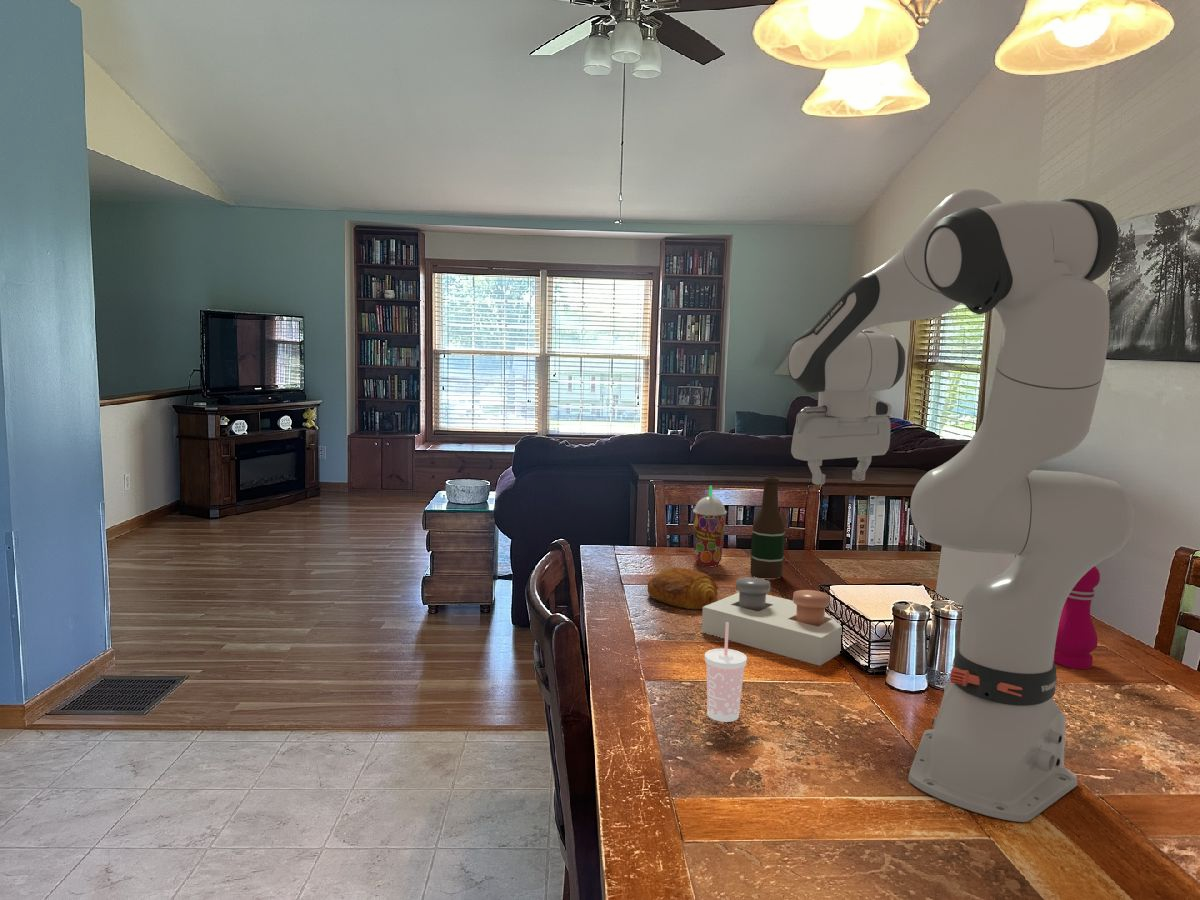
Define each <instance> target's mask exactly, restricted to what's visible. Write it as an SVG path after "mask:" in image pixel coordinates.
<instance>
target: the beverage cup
mask: <svg viewBox="0 0 1200 900" xmlns="http://www.w3.org/2000/svg"><path fill="white" fill-rule="evenodd" d="M728 632H729V622H726V627H725V639H724V648H714V649H709V650H708V651H706V652H705V653H704V662H705V663H706V706H707V707H706V709H707V712H706V713H707V716H708V717H709V718H710V719H712V720H714V721H717V722H724V723H728V722H730V723H731V722H734V721H737V720H738V719H739V716H740V710H741V709H740V708H741V700H742V699H741V698H742V692H743V691H742V690H743V682H744V672H745V666H747V661H748V658H747V657H748V656H747V655H746V654H745V653H743V652H741V651H739V650H736V649H731V648H729V640H728Z"/></svg>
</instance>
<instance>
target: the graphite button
mask: <svg viewBox="0 0 1200 900" xmlns="http://www.w3.org/2000/svg"><path fill="white" fill-rule="evenodd" d="M735 590H737V591H738V593H739V607H742V608H746V609H750V610H754V611H761V610H763V609H765V604H766V595H767V594H768V593H770V592H771V581H770V580H765V579H761V578H755V577H753V576H750V577H749V576H745V577H739V578H737V579H736V582H735Z"/></svg>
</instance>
